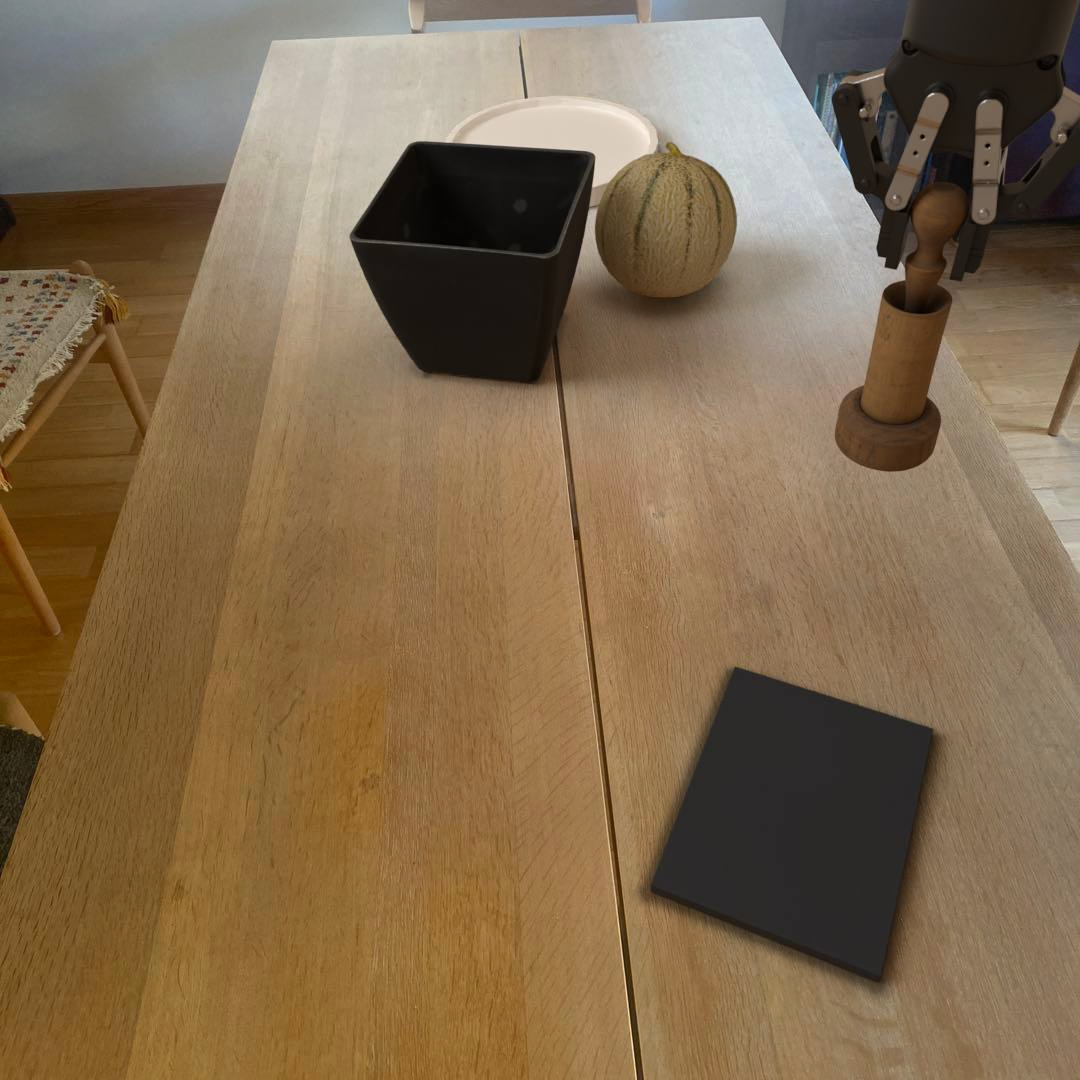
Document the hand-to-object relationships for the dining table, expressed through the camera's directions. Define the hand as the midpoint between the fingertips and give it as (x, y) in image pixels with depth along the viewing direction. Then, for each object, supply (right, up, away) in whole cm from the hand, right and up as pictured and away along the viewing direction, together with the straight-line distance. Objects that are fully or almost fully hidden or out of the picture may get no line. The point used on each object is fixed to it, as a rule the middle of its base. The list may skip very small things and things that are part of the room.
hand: (926, 266), depth 58 cm
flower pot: (-27, +4, +46) cm, 54 cm away
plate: (-21, +34, +74) cm, 84 cm away
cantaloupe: (-9, +12, +52) cm, 54 cm away
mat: (-5, -34, +8) cm, 35 cm away
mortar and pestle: (+1, -9, +10) cm, 13 cm away
